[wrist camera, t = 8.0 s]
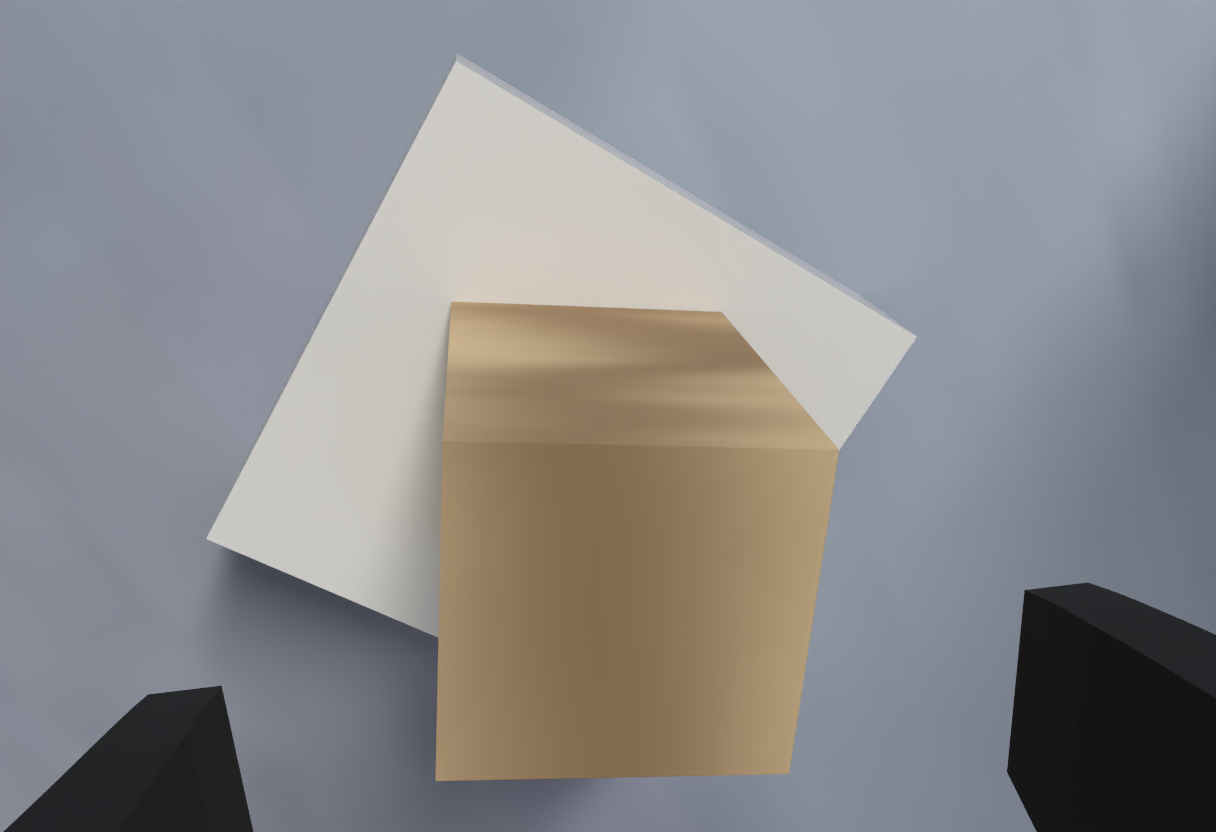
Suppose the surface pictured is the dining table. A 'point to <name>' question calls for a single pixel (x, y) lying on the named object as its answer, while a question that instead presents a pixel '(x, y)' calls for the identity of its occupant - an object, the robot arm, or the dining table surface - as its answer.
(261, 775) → the dining table surface
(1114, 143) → the dining table surface
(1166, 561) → the dining table surface
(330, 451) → the tile block
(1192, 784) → the robot arm
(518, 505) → the oak block
